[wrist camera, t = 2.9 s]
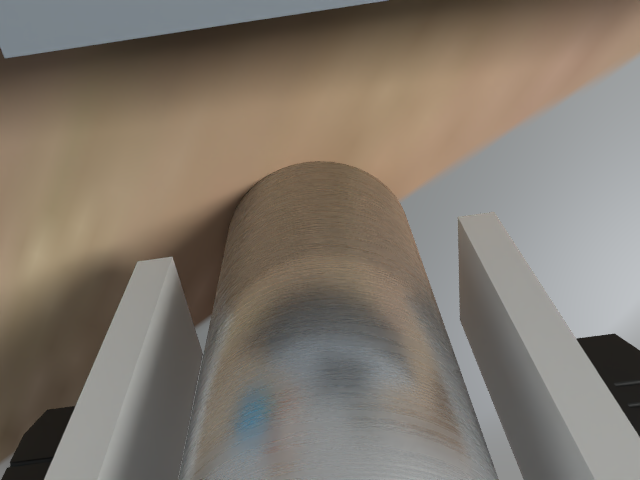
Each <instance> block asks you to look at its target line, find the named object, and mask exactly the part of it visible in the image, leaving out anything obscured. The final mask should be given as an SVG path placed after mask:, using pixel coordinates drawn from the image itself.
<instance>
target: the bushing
mask: <svg viewBox="0 0 640 480" xmlns="http://www.w3.org/2000/svg"><path fill="white" fill-rule="evenodd" d="M179 480H499V479H498V476H497V474H496V471H495V468H494V465H493V462H492V459H491V457H490V454H489V451H488V448H487V445H486V442H485V440H484V437H483V434H482V431H481V428H480V425H479V422H478V420H477V417H476V414H475V411H474V408H473V406H472V403H471V400H470V397H469V394H468V391H467V388H466V385H465V383H464V380H463V377H462V374H461V371H460V368H459V366H458V363H457V360H456V357H455V354H454V352H453V348H452V346H451V343H450V340H449V337H448V334H447V332H446V329H445V326H444V323H443V320H442V317H441V314H440V312H439V309H438V306H437V303H436V300H435V297H434V295H433V292H432V289H431V286H430V283H429V280H428V277H427V274H426V272H425V269H424V266H423V263H422V260H421V258H420V255H419V252H418V249H417V246H416V243H415V240H414V238H413V235H412V232H411V229H410V226H409V224H408V220H407V218H406V215H405V212H404V210H403V208H402V206H401V204H400V202H399V201H398V200H397V198H396V197H395V195H394V194H393V193H392V192H391V191H390V190H389V188H388V187H387V186H386V185H384V184H383V183H382V182H381V181H379V180H378V179H377V178H375V177H374V176H372V175H370V174H369V173H367V172H365V171H362V170H360V169H358V168H356V167H352V166H349V165H346V164H341V163H335V162H320V161H318V162H306V163H301V164H296V165H292V166H289V167H286V168H283V169H280V170H278V171H276V172H274V173H272V174H270V175H269V176H267V177H266V178H264V179H262V180H261V181H260V182H258V183H257V184H256V185H255V186H254V187H253V188H251V189H250V191H249V192H248V193H247V194H246V195H245V196H244V197H243V199H242V200H241V202H240V203H239V205H238V206H237V208H236V210H235V212H234V215H233V217H232V220H231V223H230V227H229V232H228V236H227V241H226V246H225V251H224V256H223V261H222V266H221V271H220V276H219V281H218V286H217V291H216V296H215V301H214V306H213V311H212V316H211V321H210V326H209V331H208V336H207V341H206V346H205V351H204V356H203V361H202V366H201V371H200V376H199V380H198V385H197V390H196V395H195V401H194V405H193V410H192V416H191V420H190V425H189V430H188V435H187V440H186V445H185V450H184V455H183V460H182V465H181V470H180V475H179Z"/></svg>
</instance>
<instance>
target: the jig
mask: <svg viewBox="0 0 640 480" xmlns="http://www.w3.org/2000/svg"><path fill="white" fill-rule="evenodd" d="M380 1H387V0H0V48H1V50H2V53H3V55H4V58H11V57H18V56H24V55H31V54H37V53H44V52H51V51H57V50H64V49H70V48H77V47H84V46H90V45H97V44H103V43H110V42H117V41H123V40H130V39H136V38H143V37H150V36H156V35H163V34H169V33H176V32H183V31H189V30H196V29H202V28H209V27H216V26H222V25H229V24H235V23H242V22H249V21H255V20H262V19H268V18H275V17H282V16H288V15H295V14H301V13H308V12H315V11H321V10H328V9H334V8H341V7H347V6H354V5H361V4H367V3H374V2H380Z"/></svg>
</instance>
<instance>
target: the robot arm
mask: <svg viewBox="0 0 640 480" xmlns="http://www.w3.org/2000/svg"><path fill="white" fill-rule="evenodd" d="M458 248H459V294H460V295H459V297H460V321H461V324H462V326H463V328H464V331H465V334H466V336H467V339H468V341H469V344H470V346H471V348H472V351H473V354H474V356H475V359H476V361H477V364H478V366H479V369H480V371H481V374H482V376H483V379H484V381H485V384H486V386H487V388H488V391H489V394H490V396H491V399H492V401H493V404H494V406H495V409H496V411H497V414H498V416H499V419H500V421H501V424H502V426H503V429H504V431H505V434H506V436H507V439H508V441H509V444H510V446H511V449H512V451H513V454H514V456H515V459H516V461H517V464H518V466H519V469H520V471H521V474H522V476H523V479H524V480H640V350H638V349H637V348H635V347H634V346H632V345H631V344H629V343H628V342H626V341H625V340H623V339H622V338H620V337H619V336H617V335H616V334H608V335H601V336H593V337H586V338H578V339H576V338H575V337H574V335H573V333H572V332H571V330H570V329H569V327H568V326H567V324H566V322H565V321H564V320H563V318H562V316H561V315H560V313H559V312H558V310H557V309H556V307H555V305H554V304H553V303H552V301H551V299H550V298H549V296H548V295H547V293H546V292H545V290H544V288H543V287H542V285H541V284H540V282H539V281H538V279H537V278H536V276H535V275H534V273H533V271H532V270H531V268H530V267H529V265H528V264H527V262H526V261H525V259H524V258H523V256H522V254H521V253H520V251H519V250H518V248H517V247H516V245H515V244H514V242H513V241H512V239H511V238H510V236H509V234H508V233H507V231H506V230H505V228H504V227H503V225H502V224H501V222H500V221H499V219H498V217H497V216H496V214H495V213H494V212H491V213H484V214H476V215H469V216H462V217H458ZM202 355H203V354H202V350H201V347H200V344H199V340H198V337H197V334H196V331H195V328H194V324H193V321H192V318H191V315H190V311H189V308H188V305H187V302H186V298H185V295H184V292H183V289H182V286H181V282H180V279H179V276H178V273H177V269H176V266H175V263H174V260H173V257H166V258H159V259H152V260H145V261H138V262H137V264H136V266H135V269H134V271H133V273H132V276H131V278H130V280H129V283H128V285H127V287H126V290H125V292H124V294H123V297H122V299H121V301H120V304H119V306H118V308H117V311H116V313H115V315H114V318H113V320H112V322H111V325H110V327H109V329H108V332H107V334H106V336H105V339H104V341H103V343H102V346H101V348H100V350H99V353H98V355H97V357H96V360H95V362H94V364H93V367H92V369H91V371H90V374H89V376H88V378H87V381H86V383H85V385H84V388H83V390H82V392H81V395H80V397H79V399H78V402H77V404H76V406H73V407H65V408H57V409H50V410H47V411H46V412H45V413H44V414H43V415H42V416H41V417H40V418H39V419H38V420H37V421H36V422H35V423H34V425H33V426H32V427H31V428H30V429H29V430H28V431H27V432H26V433H25V434H24V436H23V437H22V439H21V441H20V443H19V445H18V447H17V449H16V451H15V453H14V455H13V457H12V459H11V461H10V467H9V468H7V469H6V471H5V474H4V475H3V477H2V479H1V480H178V475H179V471H180V466H181V461H182V455H183V451H184V446H185V441H186V436H187V430H188V426H189V420H190V416H191V410H192V405H193V400H194V395H195V390H196V385H197V380H198V375H199V370H200V365H201V360H202Z"/></svg>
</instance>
